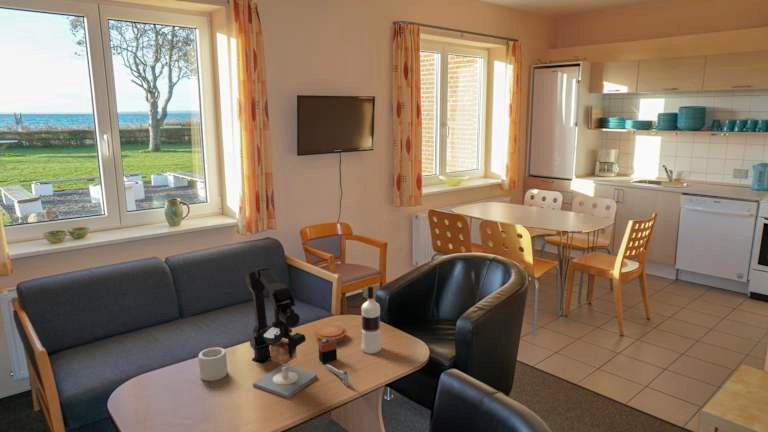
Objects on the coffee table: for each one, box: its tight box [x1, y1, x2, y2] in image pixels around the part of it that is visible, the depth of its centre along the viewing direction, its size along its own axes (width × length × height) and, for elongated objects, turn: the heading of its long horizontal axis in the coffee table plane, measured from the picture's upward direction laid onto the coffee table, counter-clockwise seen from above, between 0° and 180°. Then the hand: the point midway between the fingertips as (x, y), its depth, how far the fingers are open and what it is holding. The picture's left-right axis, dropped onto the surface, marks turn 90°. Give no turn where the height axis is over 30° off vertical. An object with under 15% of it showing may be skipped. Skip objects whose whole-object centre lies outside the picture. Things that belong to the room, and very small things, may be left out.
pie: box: [313, 324, 347, 344], centre depth 247 cm, size 16×16×5 cm
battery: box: [318, 338, 338, 365], centre depth 225 cm, size 4×7×10 cm, turn 120°
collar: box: [269, 338, 297, 365], centre depth 206 cm, size 7×7×6 cm
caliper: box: [324, 363, 350, 388], centre depth 213 cm, size 20×1×6 cm, turn 31°
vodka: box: [360, 286, 383, 355], centre depth 233 cm, size 9×9×30 cm
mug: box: [197, 346, 228, 382], centre depth 215 cm, size 14×11×10 cm
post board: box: [252, 363, 318, 399], centre depth 208 cm, size 18×18×6 cm
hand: (283, 355), depth 207 cm, fingers closed on collar, 7 cm apart
